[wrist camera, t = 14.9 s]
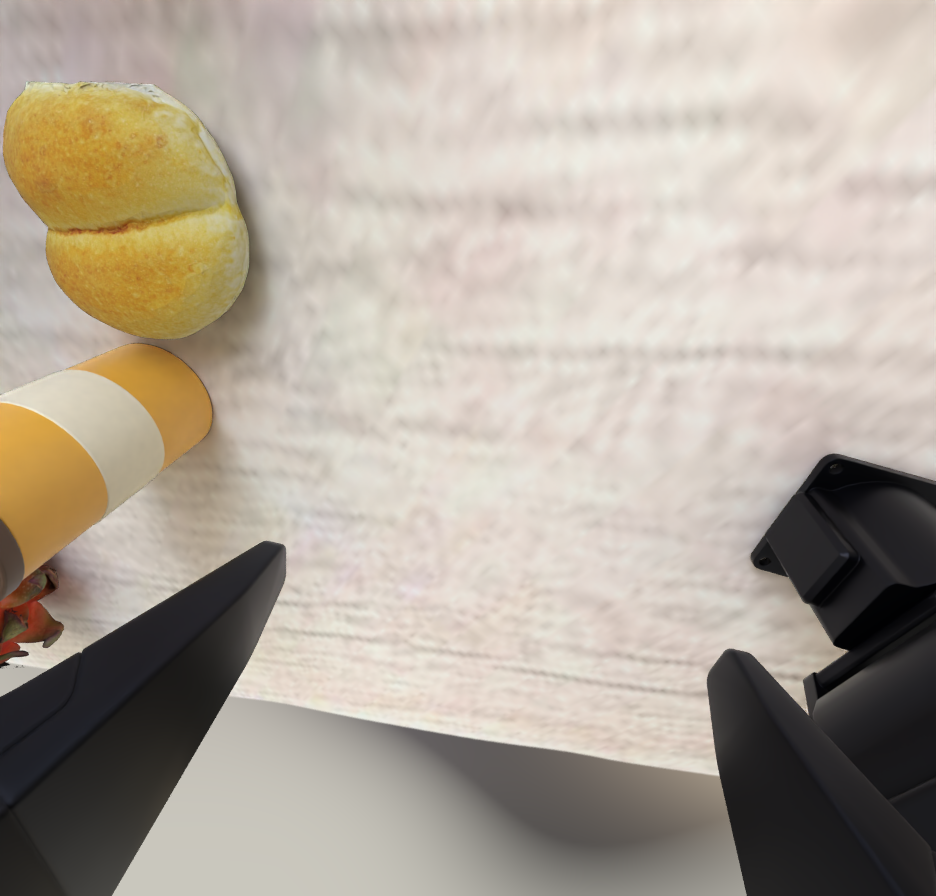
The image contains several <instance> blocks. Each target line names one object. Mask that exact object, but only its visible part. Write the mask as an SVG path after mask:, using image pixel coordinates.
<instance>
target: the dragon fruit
mask: <svg viewBox="0 0 936 896" xmlns="http://www.w3.org/2000/svg"><path fill="white" fill-rule="evenodd" d="M58 583H59V582H58V577H57V573H56V570H54V569H52V568H49V567H48V566H46V565H41V566H40V567H39V568H37V569H36V570H35V571H34V572H32V573H31V574H30V575H28V576H27V577H26V578H25V579H23V580H22V582H21V583H20V585H19V586H18V587H17V589H16V590H14V591H13V592H12V593H11V594H9V595H8V596H7V597H6V598H4V599H3V600H2V601H1V602H0V668H1V667H3V666H7V665H10V664H8V663H6V662H5V661H7V660H9V659H10V658H13V657H24V656H28V655H29V653H28V652H26V651H19V650H20V646H19V645H18V644H17V643H36V642H42V641H44V643H43V648H48V647H50V646H51V645H52V644H53V643H54V642H55V641H57V640H58V638H59V637H60V636H61V634H62V631H63V630H64V625H63V624H62V623H61V622H58V621H55V620H54V619H53V618H52V617H51V615H50V614H49V613H48V611H47V610H46V609H45V608H44V607H43V606H42V605H41V604H40V603H39V602H37V600H39V599H41V598H43V597H44V596H46V595H48V594H50V593H52V592H53V591H55V590H56V589H57V588H58ZM14 642H15V643H14ZM22 666H23V665H22Z"/></svg>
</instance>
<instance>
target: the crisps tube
mask: <svg viewBox="0 0 936 896" xmlns="http://www.w3.org/2000/svg"><path fill="white" fill-rule="evenodd" d="M211 423H212V406H211V402H210V399H209V396H208V393H207V391H206V389H205V387H204V386H203V384H202V382H201V381H200V379H199V378H198V377H197V375H196V374H195V373H194V372H193V371H192V370H191V369H190V368H189V367H188V366H187V365H186V364H185V363H184V362H183V361H181V360H180V359H179V358H177V357H176V356H174V355H173V354H171V353H169V352H167V351H166V350H164V349H161V348H158V347H156V346H152V345H148V344H141V343H133V344H127V345H124V346H121V347H118V348H116V349H113V350H111V351H109V352H106V353H104V354H101V355H99V356H97V357H94V358H92V359H89V360H87V361H85V362H82V363H80V364H77V365H75V366H73V367H70V368H68V369H65V370H61V371H58V372H55V373H52V374H50V375H47V376H45V377H43V378H40V379H38V380H35V381H33V382H30V383H28V384H26V385H23V386H21V387H18V388H16V389H13V390H11V391H9V392H6V393H4V394H1V395H0V602H1V601H2V600H3V599H4V598H6V597H7V596H8V595H9V594H11V593H12V592H13V591H14V590H16V589H17V587H18V586H19V585H20V583H21V582H22V580H23V579H25V578H26V577H27V576H28V575H30V574H31V573H32V572H34V571H35V570H36V569H37V568H39V567H40V566H41V565H43V564H44V563H45V562H46V561H48V560H49V559H50V558H52V557H53V556H54V555H55V554H57V553H58V552H59V551H60V550H62V549H63V548H64V547H66V546H67V545H68V544H69V543H71V542H72V541H73V540H75V539H76V538H77V537H78V536H80V535H81V534H82V533H83V532H85V531H86V530H87V529H89V528H90V527H91V526H92V525H95V524H96V523H98V522H100V521H101V520H102V519H103V518H105V517H106V516H107V515H109V514H110V513H111V512H112V511H114V510H115V509H116V508H117V507H119V506H120V505H121V504H123V503H124V502H125V501H126V500H128V499H129V498H130V497H131V496H133V495H134V494H135V493H137V492H138V491H139V490H140V489H142V488H143V487H144V486H145V485H147V484H148V483H149V482H151V481H152V480H153V479H154V478H155V477H156V476H157V475H158V474H159V473H160V472H161V471H163V470H164V469H165V468H167V467H168V466H169V465H170V464H172V463H173V462H174V461H175V460H177V459H178V458H179V457H181V456H182V455H183V454H184V453H186V452H187V451H188V450H190V449H191V448H192V447H193V446H195V445H196V444H197V443H198V442H200V441H201V440H202V439H203V438H204V437H205V436H206V435H207V433H208V431H209V429H210V427H211Z"/></svg>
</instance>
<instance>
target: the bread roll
mask: <svg viewBox="0 0 936 896" xmlns="http://www.w3.org/2000/svg"><path fill="white" fill-rule="evenodd" d="M3 138H4V140H3V157H4V161H5V165H6V168H7V172H8V174H9V177H10V178H11V180H12V182H13V183H14V185H15V187H16V188H17V190H18V192H19V193H20V195H21V197H22V198H23V199H24V201H25V202H26V203H27V204H28V205H29V206H30V208H31V209H32V210H33V211H34V212H35V213H36V214H37V215H38V216H39V218H40V219H41V220H42V221H43V223H45V224H46V225H47V226H48V232H47V239H46V256H47V261H48V265H49V267H50V270H51V273H52V275H53V277H54V279H55V281H56V283H57V284H58V285H59V287H60V288H61V289H62V290H63V292H64V293H65V294H66V295H67V296H68V297H69V298H70V299H71V300H72V301H73V302H74V303H75V304H76V305H77V306H78V307H79V308H80V309H82V310H83V311H84V312H86V313H87V314H89V315H90V316H92V317H94V318H96V319H98V320H99V321H101V322H103V323H105V324H107V325H109V326H111V327H113V328H116V329H118V330H121V331H123V332H126V333H129V334H132V335H136V336H140V337H146V338H153V339H179V338H183V337H186V336H189V335H192V334H194V333H196V332H198V331H199V330H201V329H203V328H204V327H206V326H207V325H209V324H211V323H212V322H214V321H216V320H217V319H218V318H220V317H221V316H222V315H223V314H224V313H225V312H227V311H228V310H229V309H230V308H231V306H232V305H233V304H234V302H235V301H236V299H237V298H238V296H239V294H240V293H241V291H242V289H243V287H244V284H245V281H246V277H247V274H248V270H249V236H248V231H247V227H246V223H245V221H244V219H243V217H242V214H241V212H240V210H239V207H238V204H237V198H236V190H235V185H234V180H233V177H232V175H231V172H230V170H229V168H228V165H227V163H226V161H225V159H224V157H223V155H222V153H221V151H220V149H219V147H218V145H217V144H216V142H215V140H214V139H213V137H212V136H211V135H210V133H209V132H208V131H207V129H206V128H205V127H204V125H203V124H202V122H201V121H200V119H199V118H198V117H197V116H196V115H195V114H194V113H193V112H192V111H191V110H190V109H189V108H188V107H186V106H185V105H184V104H182V103H181V102H180V101H178V100H177V99H175V98H174V97H172V96H171V95H169V94H167V93H165V92H164V91H162V90H161V89H160V88H159V87H157V86H155V85H153V84H132V83H121V82H104V83H97V82H92V81H91V82H78V83H76V84H65V83H44V82H32V81H31V82H28V81H27V82H26V85H25V89H24V91H23V92H22V93H21V94H20V96H19V97H18V98H17V99H16V100H15V101H14V102H13V104H12V105H11V106H10V108H9V110H8V111H7V116H6V121H5V126H4V133H3Z"/></svg>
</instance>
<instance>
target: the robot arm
mask: <svg viewBox="0 0 936 896" xmlns="http://www.w3.org/2000/svg"><path fill="white" fill-rule="evenodd" d="M834 464H838V465H837V466H836V467H835V468H832V469H830V467H831V466H832V465H834ZM762 558H766V559H763V560H761V559H762ZM751 560H752V562H753V564H754V566H755V567H756V568H758V569H761V570H765V571H768V572H772V573H775V574H779V575H783V576H786V577H789V579H790V580H791V582H792V584H793V585H794V587H795V589H796V591H797V592H798V594H799V596H800V597H801V599H802V601H803V602H804V603H806V604H809V605H810V606H811V608H812V610H813V611H814V613H815V615H816V616H817V618H818V620H819V621H820V623H821V625H822V626H823V628H824V630H825V631H826V633H827V635H828V636H829V638H830V640H831V641H832V643H833V645H834V646H836V647H839V648H842V649H846V650H848V652H847V653H845V654H844V655H843V656H841V657H840V658H838V659H837V660H836V661H834V662H833V663H831V664H830V665H828V666H827V667H826V668H824V669H823V670H821V671H820V672H819V673H816V672H814V673H812V674H811V675H809V676H808V677H806V678H805V679H804V680H803V683H804V689H805V695H806V700H807V706H808V712H809V715H808V714H807V713H806V712H805V711H804V710H803V709H802V708H801V707H800V706H799V705H798V704H797V703H796V701H795V700H794V699H793V698H792V697H791V696H790V695H789V694H788V693H787V692H786V691H785V690H784V689H783V688H782V686H781V685H780V684H779V683H778V682H777V681H776V680H775V679H774V678H773V677H772V676H771V675H770V674H769V672H768V671H767V670H766V669H765V668H764V667H763V666H762V665H761V664H760V663H759V662H758V661H757V660H756V659H755V657H753V656H752V655H751V654H750V653H747V652H744V651H740V650H735V649H727V650H725V651H724V653H723V654H722V655H721V657H720V658H719V659H718V661H717V662H716V663H715V664H714V666H713V667H712V668H711V670H710V671H709V674H708V677H707V689H708V697H709V705H710V713H711V721H712V729H713V737H714V745H715V752H716V759H717V765H718V770H719V775H720V779H721V783H722V788H723V792H724V797H725V801H726V806H727V810H728V815H729V819H730V823H731V828H732V832H733V837H734V841H735V845H736V850H737V854H738V859H739V863H740V868H741V872H742V876H743V881H744V885H745V890H746V894H747V896H936V481H933V480H929V479H925V478H922V477H918V476H915V475H911V474H908V473H904V472H900V471H897V470H893V469H890V468H886V467H883V466H879V465H876V464H872V463H868V462H865V461H861V460H858V459H854V458H851V457H847V456H843V455H840V454H830V455H827V456H825V457H823V458H822V459H821V460H820V461H819V463H818V464H817V466H816V467H815V468H814V470H813V471H812V472H811V474H810V475H809V476H808V478H807V479H806V480H805V482H804V483H803V484H802V486H801V487H800V489H799V490H798V491H797V493H796V494H795V495H794V496H793V497H792V498H791V500H790V501H789V502H788V504H787V505H786V506H785V508H784V509H783V511H782V512H781V513H780V515H779V516H778V517H777V519H776V520H775V521H774V523H773V524H772V525H771V527H770V528H769V530H768V531H767V532H766V534H765V536H764V537H763V539H762V540H761V541H760V543H759V544H758V545H757V547H756V548H755V549H754V551H753V552H752V554H751ZM285 577H286V548H285V546H284V545H282V544H279V543H275V542H271V541H263V542H261V543H259V544H258V545H256V546H254V547H253V548H251V549H249V550H248V551H246V552H244V553H243V554H241V555H239V556H238V557H236V558H234V559H233V560H231V561H229V562H228V563H226V564H224V565H223V566H221V567H219V568H218V569H216V570H214V571H213V572H211V573H209V574H208V575H206V576H204V577H203V578H201V579H199V580H198V581H196V582H194V583H193V584H191V585H189V586H188V587H186V588H184V589H183V590H181V591H179V592H178V593H176V594H174V595H173V596H171V597H169V598H168V599H166V600H164V601H163V602H161V603H159V604H158V605H156V606H154V607H153V608H151V609H149V610H148V611H146V612H144V613H143V614H141V615H139V616H138V617H136V618H134V619H133V620H131V621H129V622H128V623H126V624H124V625H123V626H121V627H119V628H118V629H116V630H114V631H113V632H111V633H109V634H108V635H106V636H105V637H103V638H101V639H100V640H98V641H96V642H95V643H93V644H91V645H90V646H88V647H86V648H85V649H83V651H82V653H80V652H78V653H76V654H74V655H73V656H71V657H69V658H68V659H66V660H64V661H63V662H61V663H59V664H58V665H56V666H54V667H53V668H51V669H49V670H47V671H46V672H44V673H42V674H40V675H39V676H37V677H35V678H34V679H32V680H30V681H28V682H27V683H25V684H23V685H22V686H20V687H18V688H16V689H14V690H12V691H11V692H9V693H7V694H5V695H3V696H1V697H0V896H112V894H113V893H114V891H115V889H116V888H117V886H118V884H119V882H120V881H121V879H122V877H123V876H124V874H125V872H126V870H127V869H128V867H129V865H130V863H131V862H132V860H133V858H134V856H135V855H136V853H137V852H138V850H139V848H140V846H141V845H142V843H143V841H144V840H145V838H146V836H147V834H148V833H149V831H150V829H151V827H152V826H153V824H154V822H155V821H156V819H157V817H158V816H159V814H160V812H161V810H162V809H163V807H164V805H165V804H166V802H167V800H168V798H169V797H170V795H171V793H172V791H173V790H174V788H175V786H176V785H177V783H178V781H179V780H180V778H181V776H182V774H183V772H184V771H185V769H186V768H187V766H188V764H189V762H190V761H191V759H192V757H193V756H194V754H195V752H196V750H197V749H198V747H199V745H200V743H201V742H202V740H203V738H204V737H205V735H206V733H207V732H208V730H209V728H210V726H211V725H212V723H213V721H214V719H215V718H216V716H217V714H218V713H219V711H220V709H221V707H222V706H223V704H224V702H225V701H226V699H227V697H228V696H229V694H230V692H231V690H232V689H233V687H234V685H235V684H236V682H237V680H238V678H239V677H240V675H241V673H242V672H243V670H244V668H245V666H246V665H247V663H248V661H249V659H250V657H251V655H252V653H253V651H254V649H255V647H256V645H257V643H258V640H259V638H260V636H261V634H262V631H263V629H264V627H265V625H266V622H267V620H268V618H269V616H270V613H271V611H272V609H273V607H274V605H275V602H276V600H277V598H278V596H279V593H280V591H281V589H282V587H283V584H284V581H285Z"/></svg>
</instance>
